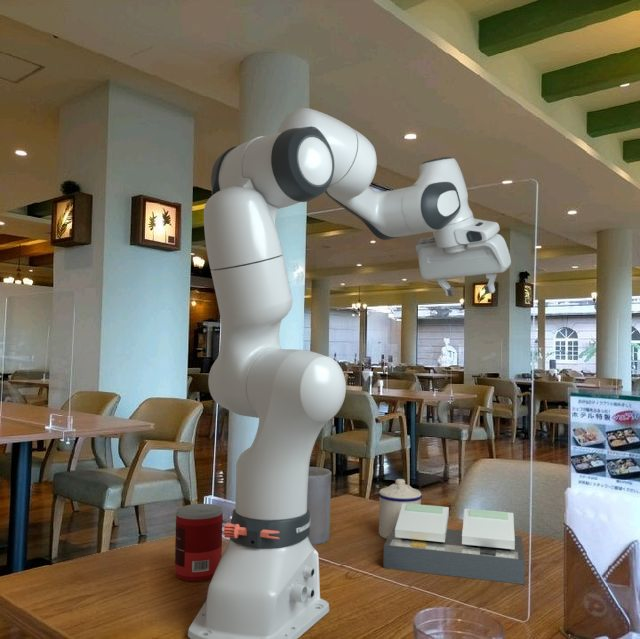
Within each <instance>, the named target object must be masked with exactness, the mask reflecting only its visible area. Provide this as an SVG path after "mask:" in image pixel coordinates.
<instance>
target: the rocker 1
mask: <svg viewBox="0 0 640 639" xmlns="http://www.w3.org/2000/svg"><path fill="white" fill-rule="evenodd" d="M449 516H450V507H449V506H439V505H429V504H428V505H427V504H421V505H420V504H408V503H407V504H406V503H403V504H402V507H401V511H400V514H399V517H398V521H397V524H396V527H395V537H398V538H408V539H417V540H427V541H437V542H445V538H446V531H447V529H448V523H449Z"/></svg>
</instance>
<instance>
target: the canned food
mask: <svg viewBox="0 0 640 639" xmlns="http://www.w3.org/2000/svg"><path fill="white" fill-rule="evenodd" d="M223 513H224V512H223V508H222V506H219V505H218V504H217V505H216V504H212V503H193V504H187V505H184V506H180V507H179V508H177V509H176V513H175V544H174V546H175V549H174V551H175V552H174V573H175V576H176V577H177V579H179V580H181V581H184V582H195V583H197V582H204V581H208V580H212V578H213V575H214V573H215V571H216V568H217V566H218V564H219V562H220V559H221V557H222V555H223V553H222V552H223V549H222V548H223V522H224V521H223V519H224V518H223Z"/></svg>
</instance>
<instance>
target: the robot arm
mask: <svg viewBox="0 0 640 639" xmlns="http://www.w3.org/2000/svg"><path fill="white" fill-rule="evenodd" d="M377 158H378V157H377V153H376V150H375V147H374V145H373V144H372V143H371V142H370V140H369V139H367V137H366V136H365V135H363V134H362V133H360V132H359V131H357V130H356V129H355V128H353V127H351V126H349V125H348V124H346V123H344V121H342V120H339V119H338V118H336V117H333V116H331V115H329V114H327V113H325V112H321V111H319V110H316V109H313V108H309V107H301V108H297V109H294V110H292V111H291V112H289V113H288V114H287V115H286V116H285V117H284V118H283V119H282V120H281V122H280V124H279V126H278V128H277V131H276V133H273V134H269V135H261V136H257V137H255V138H252V139H250V140H247V141H246V142H243V143H242V144H240V145H235V146H233V147H230V148H228V149H227V150H226V151H224V152H222V153H221V154H220V155H219V157H218V158H217V159H216V160H215V162H214V164H213V165H212V170H211V173H210V174H211V176H210V177H211V178H210V184H211V196H210V197H209V198H208V200H207V201H206V202H205V205H204V207H203V227H204V228H203V229H204V239H205V248H206V253H207V255H206V256H207V260H208V264H209V269H210V273H211V277H212V282H213V286H214V287H213V288H214V291H215V296H216V301H217V306H218V310H219V311H218V312H219V317H220V342H219V343H220V345H219V352H218V356H217V358H216V359H215V361H214V362H213V364H212V365H211V367H210V371H209V374H208V382H207V383H208V390H209V393H210V396H211V398H212V399H213V401H214V402H215V403H216V404H218V405H219V406H220V407H222V408H224V409H226V410H228V411H230V412H232V413H234V414H236V415H238V416H243V417H249V418H250V417H251V418H256V419H258V425H257V426H258V427H257V430H256V434H255V437H254V439H253V441H252V444H251V445H250V446H249V447H248V448H246V449H245V450H244V451H243V452H242V453H241V454H240V455H239V456H238V458H237V461H236V466H235V468H236V469H235V504H234V505H235V506H234V507H235V508H234V509H233V510H232V514H231V518H230V522H226V523H225V524H224V527H223V530H222V534H223V537H224V538H226V539H227V538H228V539H229V541H227V545H226V547H225V549H224V550H223V553H222V557H221V559H220V562H219V564H218V566H217V568H216V571H215V573H214V575H213V578H212V579H210V583H209V584H208V587H207V588H208V589H207V593H206V594H207V596H206V600H205V602H204V603H203V605H202V607H201V608H200V609H199V611H198V613H197V615H196V616H195V618H194V619H193V620H192V623H191V624H190V625H189V628H188V629H187V637H188V638H189V639H299V638H300V637H301V636H302V635H303V634H305V633H306V632H307V631H308V630H309V629H310V628H312V626H314V625H315V624H316V623H318V622H319V621H320V620H321V619H322V618H323V617H325V616H326V615H327V614H328V613H329V612H330V604H329V601H327V600H325V599H323V598H321V593H320V591H321V590H320V564H319V563H320V561H319V552H318V551H317V550H316V548H314V545H311V543H310V541H309V538H308V536H309V534H310V512H309V510H308V509H307V494H308V473H309V466H310V462H311V456H312V452H313V449H314V446H315V443H316V441H317V438H318V437H319V434H320V432H321V431H322V429H323V428H324V427H325V425H326V424H327V423H328V422H329V421H331V419H333V418H334V417H335V416H336V415H337V414H338V413H339V412H340V410H341V408H342V406H343V403H344V401H345V398H346V393H347V383H346V377H345V374H344V371H343V369H342V367H341V365H340V364H339V363H338V361H336V360H335V359H334V358H332V357H329V356H327V355H324V354H322V353H319V352H315V351H311V350H308V349H286V348H282V347H281V345H280V344H281V343H280V329H281V323H282V320H284V319H285V318H286V316H288V314H289V313H290V311H291V310H292V309H291V308H292V306H293V297H292V296H293V295H292V292H291V287H290V281H289V278H288V276H289V275H288V272H287V267H286V262H285V258H284V254H283V249H282V245H281V241H280V237H279V234H278V230H277V227H276V216H277V212H278V210H279V209H283V208H286V207H290V206H293V205H297V204H299V203H307V202H309V201H312V200H314V199H316V198H318V197H320V196H321V195H323V194H324V193H325V194H326V195H327V197H329V198H330V199H331V200H332V201H333V202H335V203H336V204H337V205H339V207H341V208H343V209H344V210H346V211H347V212H349V213H350V214H352V215H353V216H355V217H356V218H357V219H359V220H360V221H361V222H362V223H363V224H364V225H365V226H366V227H367V228H368V230H369V231H370V232H371V233H372V234H373V235H374V236H375V237H376V238H378V239H380V240H381V241H389V240H393V239H398V238H400V237H406V236H413V235H414V236H415V235H421V234H424V233H433V234H432V235H433V236H430V237H427V238H425V237H424V238H420V239H419V240H418V241H417V242H416V244H415V251H416V254H417V257H418V258H417V259H418V266H419V272H420V276H421V277H422V278H423V279H424V280H425V281H429V280H430V281H431V280H437V283H438V285H439V286H440V287H441V288H442V289H443V291H444V292H445V296H446V297H448V298H449V297H454V296H455V295H456V289H455V286H451V285H450V283H449V282H448V280H449V278H450V279H451V278H461V277H470V276H480V275H481V276H482V275H485V277H486V279H487V280H488V281H487V282H488V283H486V284H484V286H483V288H484V292H485V294H486V295H487V294H494V293H495V292H496V288H495V282H496V278H497V275H498V274H500V273H501V274H502V273H504V272H506V271H507V270H508V269H510V267H511V264H512V259H511V255H510V250H509V248H508V246H507V245H508V244H507V242H506V240H505V238H504V237H503V236H502V235H501V234H499V232H500V230H501V229H500V225H499V223H498V222H496V221H492V220H491V221H489V220H484V219H479V218H475V217H474V213H473V211H472V209H471V208H470V205H469V198H468V197H469V193H468V189H467V185H466V182H465V178H464V174H463V172H462V170H461V168H460V165H459V163H458V161H457V160H456V158H454V157H450V156H445V157H439V158H433V159H429V160H426V161H424V162H422V163H420V164H419V165H418V166H419V167H418V168H419V175H418V177H417V179H416V181H415V182H414V183H413V184H412V185H411V186H407V187H401V188H398V189H393V190H385V191H384V190H383V191H375V190H372V188H371V187H370V185H371V184H372V182H373V179H374V177H375V174H376V172H377V165H378V159H377Z"/></svg>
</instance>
